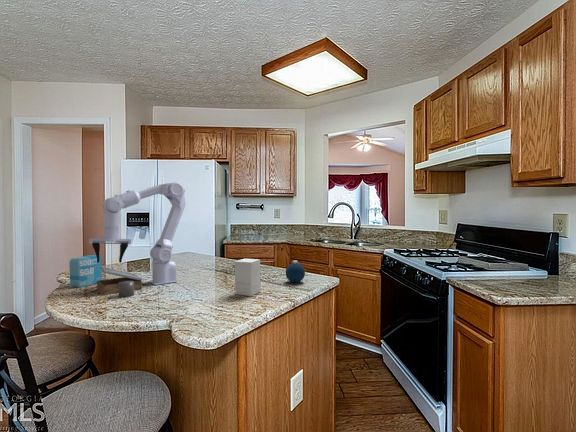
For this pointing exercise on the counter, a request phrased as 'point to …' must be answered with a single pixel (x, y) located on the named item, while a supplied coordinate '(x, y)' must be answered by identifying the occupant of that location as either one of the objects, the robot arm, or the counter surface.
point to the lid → (120, 273)
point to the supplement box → (247, 277)
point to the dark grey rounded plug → (126, 288)
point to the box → (115, 285)
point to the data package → (85, 271)
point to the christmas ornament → (295, 272)
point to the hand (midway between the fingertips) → (109, 262)
